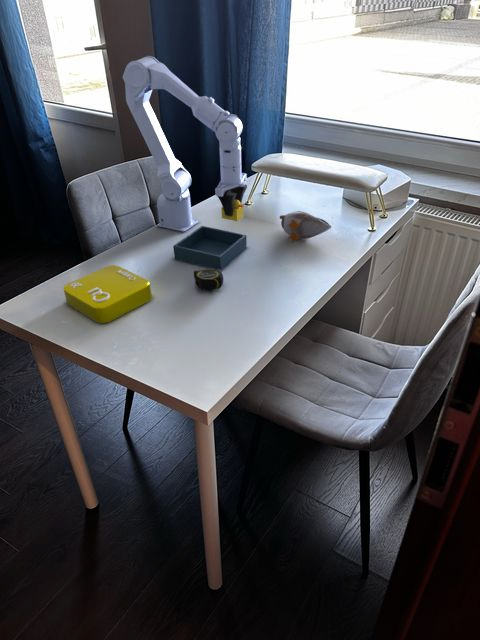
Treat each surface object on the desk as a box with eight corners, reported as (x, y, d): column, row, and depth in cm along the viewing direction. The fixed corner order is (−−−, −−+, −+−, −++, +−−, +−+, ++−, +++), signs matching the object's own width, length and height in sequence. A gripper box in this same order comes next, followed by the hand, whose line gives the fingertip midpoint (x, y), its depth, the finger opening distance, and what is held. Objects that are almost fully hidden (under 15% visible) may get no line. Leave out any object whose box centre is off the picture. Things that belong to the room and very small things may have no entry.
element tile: (155, 298, 118) (153, 280, 115) (102, 326, 109) (97, 308, 106) (116, 278, 126) (113, 261, 123) (63, 302, 117) (58, 285, 114)
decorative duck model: (280, 202, 148) (331, 201, 147) (280, 227, 152) (330, 227, 151) (276, 217, 136) (332, 217, 134) (276, 244, 140) (331, 244, 138)
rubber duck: (221, 218, 145) (220, 200, 142) (228, 213, 148) (227, 195, 145) (240, 222, 143) (239, 203, 140) (246, 216, 146) (246, 198, 143)
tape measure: (221, 278, 125) (221, 265, 123) (225, 292, 120) (224, 278, 118) (194, 281, 125) (193, 267, 122) (196, 295, 119) (195, 281, 117)
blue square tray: (174, 259, 134) (173, 245, 131) (202, 238, 144) (201, 225, 141) (220, 270, 129) (220, 256, 126) (246, 248, 139) (246, 235, 136)
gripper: (230, 175, 130) (232, 224, 139) (255, 159, 140) (256, 206, 149) (207, 171, 133) (210, 219, 141) (233, 155, 143) (235, 202, 151)
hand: (232, 212), depth 145 cm, fingers closed on rubber duck, 4 cm apart
